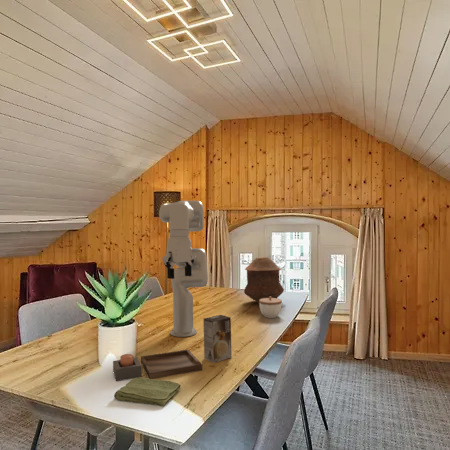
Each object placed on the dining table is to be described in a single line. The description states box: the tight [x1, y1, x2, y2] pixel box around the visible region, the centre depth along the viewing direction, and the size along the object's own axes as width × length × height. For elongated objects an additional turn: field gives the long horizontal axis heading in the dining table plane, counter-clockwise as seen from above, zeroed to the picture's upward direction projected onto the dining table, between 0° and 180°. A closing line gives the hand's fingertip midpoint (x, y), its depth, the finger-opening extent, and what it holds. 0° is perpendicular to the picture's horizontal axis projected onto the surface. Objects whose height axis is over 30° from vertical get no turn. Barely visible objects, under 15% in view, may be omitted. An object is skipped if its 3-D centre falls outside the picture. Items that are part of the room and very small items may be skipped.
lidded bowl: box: [258, 296, 282, 319], centre depth 210 cm, size 13×13×11 cm
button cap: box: [119, 353, 134, 367], centre depth 132 cm, size 4×4×3 cm
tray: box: [140, 349, 203, 380], centre depth 139 cm, size 17×19×2 cm
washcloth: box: [113, 377, 182, 407], centre depth 117 cm, size 13×18×3 cm
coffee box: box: [202, 314, 233, 364], centre depth 147 cm, size 9×6×16 cm
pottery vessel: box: [243, 256, 285, 305], centre depth 242 cm, size 26×26×30 cm
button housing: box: [112, 356, 143, 382], centre depth 132 cm, size 9×9×4 cm
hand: (179, 277), depth 149 cm, fingers open, 9 cm apart
